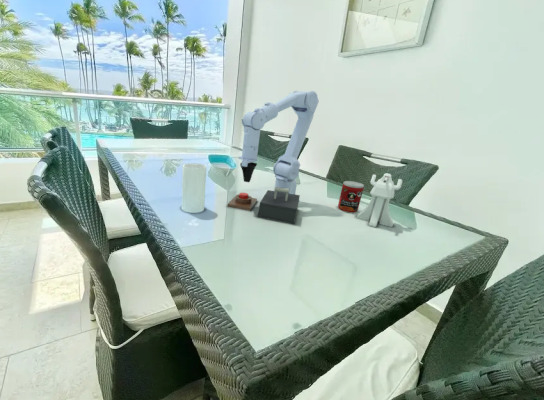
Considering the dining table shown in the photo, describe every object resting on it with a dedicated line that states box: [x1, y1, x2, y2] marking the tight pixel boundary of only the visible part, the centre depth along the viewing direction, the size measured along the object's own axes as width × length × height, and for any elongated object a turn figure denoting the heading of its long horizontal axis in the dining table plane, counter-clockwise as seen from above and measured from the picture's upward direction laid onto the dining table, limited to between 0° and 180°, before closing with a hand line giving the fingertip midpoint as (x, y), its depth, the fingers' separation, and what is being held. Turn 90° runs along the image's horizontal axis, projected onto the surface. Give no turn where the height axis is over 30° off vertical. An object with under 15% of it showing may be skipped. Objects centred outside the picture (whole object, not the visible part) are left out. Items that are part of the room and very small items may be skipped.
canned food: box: [337, 180, 365, 214], centre depth 110 cm, size 8×8×11 cm
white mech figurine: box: [356, 172, 403, 228], centre depth 98 cm, size 12×13×18 cm
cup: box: [181, 162, 207, 214], centre depth 97 cm, size 8×8×16 cm
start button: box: [238, 192, 249, 199], centre depth 107 cm, size 4×4×2 cm
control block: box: [227, 193, 258, 212], centre depth 108 cm, size 12×9×3 cm
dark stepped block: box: [257, 202, 300, 225], centre depth 101 cm, size 16×13×5 cm
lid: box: [259, 186, 301, 212], centre depth 100 cm, size 16×13×5 cm
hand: (246, 181), depth 105 cm, fingers closed
